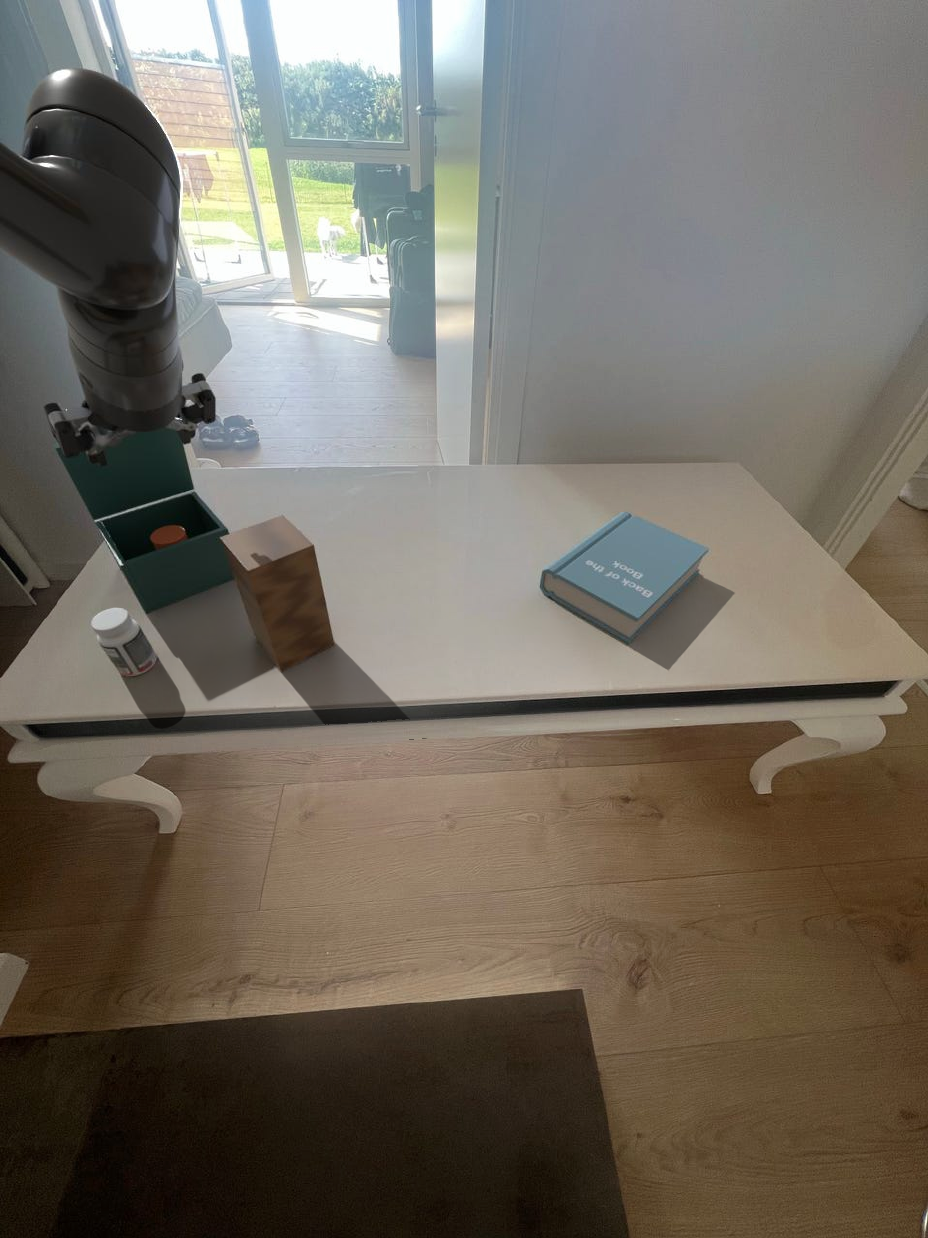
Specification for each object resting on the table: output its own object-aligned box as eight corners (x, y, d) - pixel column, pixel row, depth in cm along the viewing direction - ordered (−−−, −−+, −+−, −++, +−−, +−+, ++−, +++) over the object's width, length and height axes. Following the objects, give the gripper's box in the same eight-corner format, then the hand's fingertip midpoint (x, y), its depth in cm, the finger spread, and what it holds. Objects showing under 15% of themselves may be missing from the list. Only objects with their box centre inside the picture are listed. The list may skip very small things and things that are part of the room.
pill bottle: (156, 646, 71) (130, 600, 65) (158, 670, 68) (132, 624, 62) (117, 656, 70) (87, 611, 64) (118, 682, 67) (87, 636, 61)
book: (628, 643, 74) (638, 618, 71) (538, 591, 82) (543, 566, 78) (698, 572, 87) (709, 548, 83) (614, 532, 94) (621, 509, 91)
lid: (177, 419, 71) (160, 393, 72) (55, 448, 64) (38, 419, 65) (194, 489, 83) (179, 466, 85) (93, 520, 76) (79, 494, 78)
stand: (280, 672, 69) (247, 571, 57) (255, 637, 73) (219, 537, 61) (334, 644, 72) (314, 544, 61) (307, 613, 77) (283, 514, 65)
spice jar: (176, 590, 78) (155, 547, 73) (166, 575, 81) (145, 532, 75) (206, 578, 80) (189, 535, 75) (196, 564, 83) (178, 521, 77)
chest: (243, 575, 83) (227, 528, 76) (145, 614, 76) (120, 566, 70) (211, 535, 90) (194, 490, 84) (119, 567, 83) (93, 520, 77)
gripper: (195, 308, 46) (192, 399, 60) (2, 335, 39) (49, 431, 53) (237, 389, 46) (223, 460, 61) (54, 430, 40) (87, 499, 54)
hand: (142, 446), depth 57 cm, fingers open, 8 cm apart
